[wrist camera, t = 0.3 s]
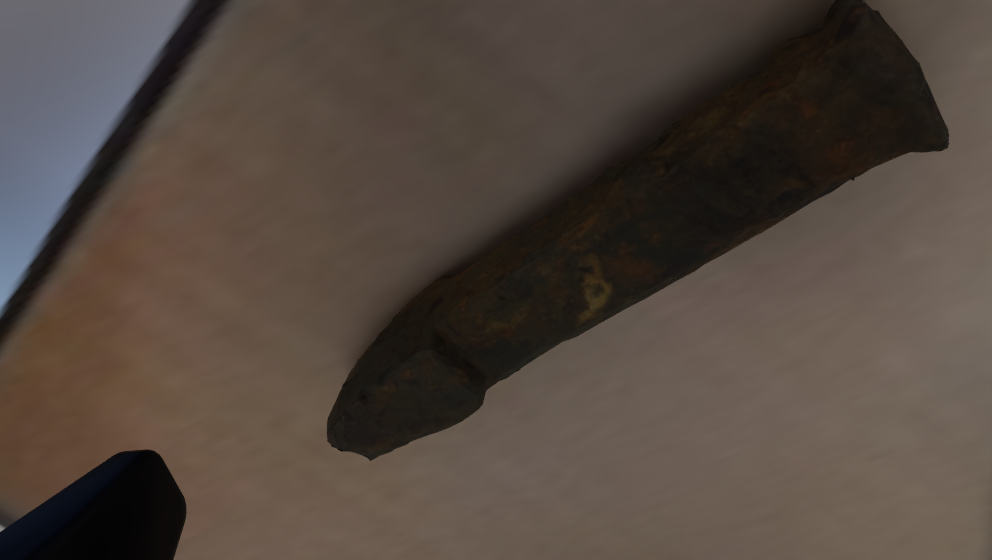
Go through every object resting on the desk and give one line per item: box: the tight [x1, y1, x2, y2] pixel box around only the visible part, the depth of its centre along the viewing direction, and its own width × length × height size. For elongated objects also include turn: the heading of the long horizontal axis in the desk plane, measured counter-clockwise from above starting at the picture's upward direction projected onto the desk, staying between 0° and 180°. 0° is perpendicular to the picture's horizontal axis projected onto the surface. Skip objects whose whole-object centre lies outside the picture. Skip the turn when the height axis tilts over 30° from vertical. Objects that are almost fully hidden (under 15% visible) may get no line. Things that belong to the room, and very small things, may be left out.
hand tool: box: [327, 0, 949, 461], centre depth 21 cm, size 19×4×5 cm, turn 127°
